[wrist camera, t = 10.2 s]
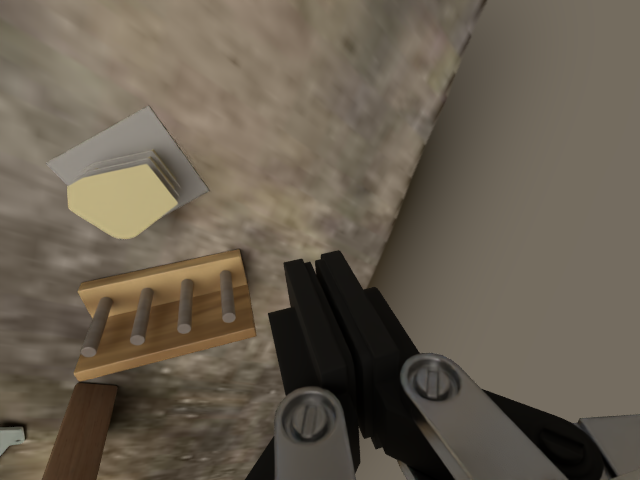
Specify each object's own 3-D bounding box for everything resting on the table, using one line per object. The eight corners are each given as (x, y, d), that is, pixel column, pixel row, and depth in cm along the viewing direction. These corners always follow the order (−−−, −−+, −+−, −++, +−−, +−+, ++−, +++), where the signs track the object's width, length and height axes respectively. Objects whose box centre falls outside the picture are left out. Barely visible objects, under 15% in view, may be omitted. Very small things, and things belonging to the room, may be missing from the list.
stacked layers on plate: (148, 105, 31) (139, 119, 27) (209, 190, 36) (210, 214, 32) (45, 163, 31) (18, 187, 27) (120, 239, 36) (108, 271, 32)
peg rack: (81, 282, 37) (52, 343, 30) (239, 248, 40) (246, 296, 33) (100, 318, 40) (78, 382, 33) (248, 284, 43) (256, 336, 36)
